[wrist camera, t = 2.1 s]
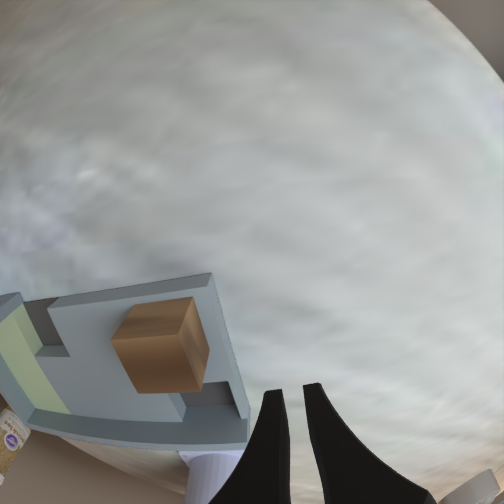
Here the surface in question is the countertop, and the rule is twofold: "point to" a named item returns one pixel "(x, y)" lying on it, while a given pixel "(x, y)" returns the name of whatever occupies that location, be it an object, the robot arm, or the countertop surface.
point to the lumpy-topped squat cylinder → (475, 490)
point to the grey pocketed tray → (117, 372)
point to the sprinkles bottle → (10, 438)
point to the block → (163, 347)
